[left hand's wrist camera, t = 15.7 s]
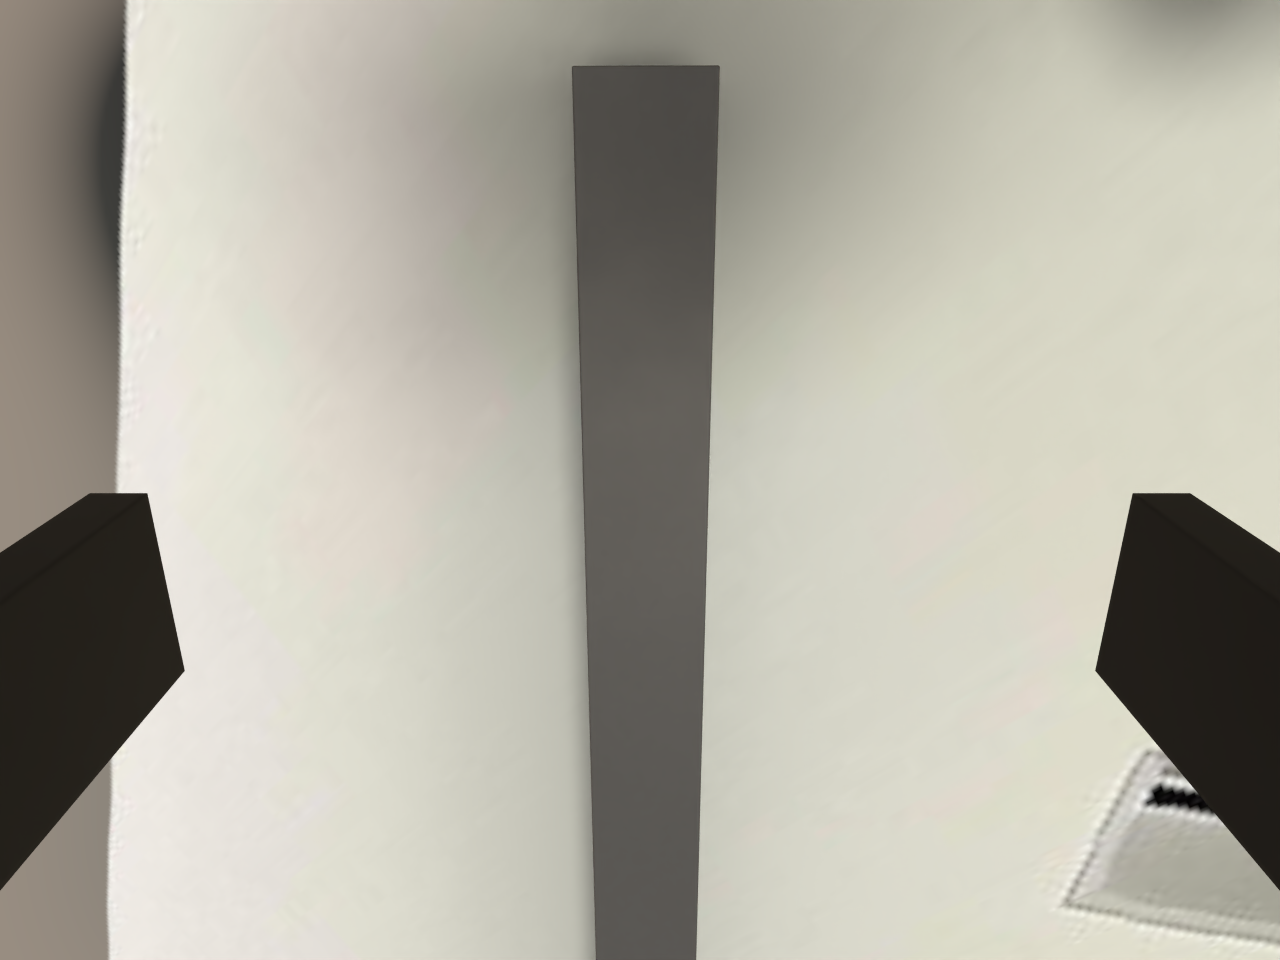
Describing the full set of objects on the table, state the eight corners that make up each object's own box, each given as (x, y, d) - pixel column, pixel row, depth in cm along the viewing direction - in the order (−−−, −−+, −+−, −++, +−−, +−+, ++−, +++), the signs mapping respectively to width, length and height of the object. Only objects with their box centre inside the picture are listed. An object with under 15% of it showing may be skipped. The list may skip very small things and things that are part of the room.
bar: (584, 77, 38) (571, 66, 31) (704, 77, 38) (719, 65, 31) (611, 1282, 68) (608, 1422, 60) (679, 1281, 68) (683, 1422, 60)
